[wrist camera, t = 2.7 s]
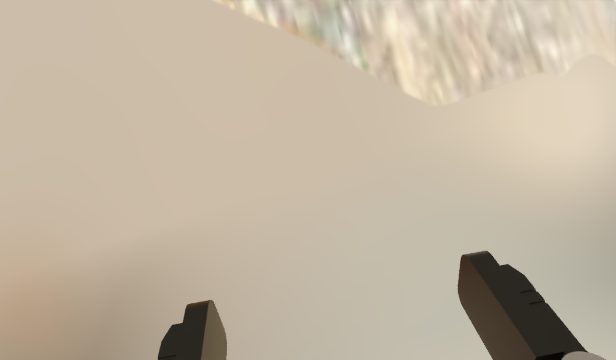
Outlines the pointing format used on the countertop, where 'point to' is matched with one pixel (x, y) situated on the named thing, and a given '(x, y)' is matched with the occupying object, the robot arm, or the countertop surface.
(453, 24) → the countertop surface
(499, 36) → the countertop surface
